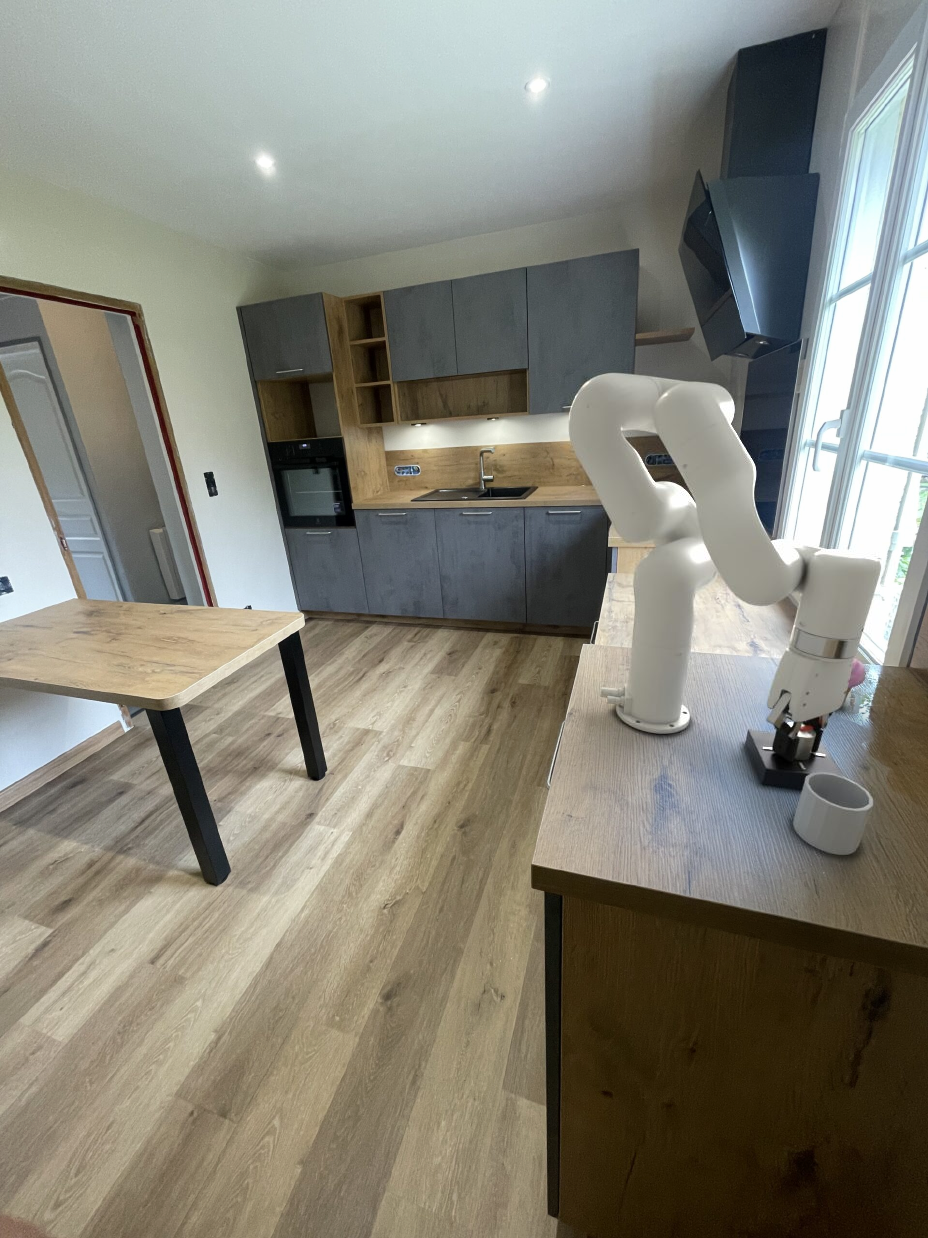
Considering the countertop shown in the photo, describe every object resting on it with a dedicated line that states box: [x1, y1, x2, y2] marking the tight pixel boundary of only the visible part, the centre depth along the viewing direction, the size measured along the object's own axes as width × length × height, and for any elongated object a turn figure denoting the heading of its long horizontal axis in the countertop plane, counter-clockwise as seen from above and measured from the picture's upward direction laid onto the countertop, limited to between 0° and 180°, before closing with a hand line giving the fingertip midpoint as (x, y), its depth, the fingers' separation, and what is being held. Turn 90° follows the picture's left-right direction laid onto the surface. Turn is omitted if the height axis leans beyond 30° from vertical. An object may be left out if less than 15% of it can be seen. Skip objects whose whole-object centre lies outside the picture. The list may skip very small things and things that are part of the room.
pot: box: [792, 772, 874, 856], centre depth 61 cm, size 7×7×7 cm
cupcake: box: [840, 657, 867, 708], centre depth 90 cm, size 9×9×10 cm
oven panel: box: [744, 729, 846, 791], centre depth 74 cm, size 10×10×3 cm
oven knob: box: [787, 721, 816, 760], centre depth 72 cm, size 4×4×4 cm
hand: (794, 750), depth 73 cm, fingers closed on oven knob, 4 cm apart
